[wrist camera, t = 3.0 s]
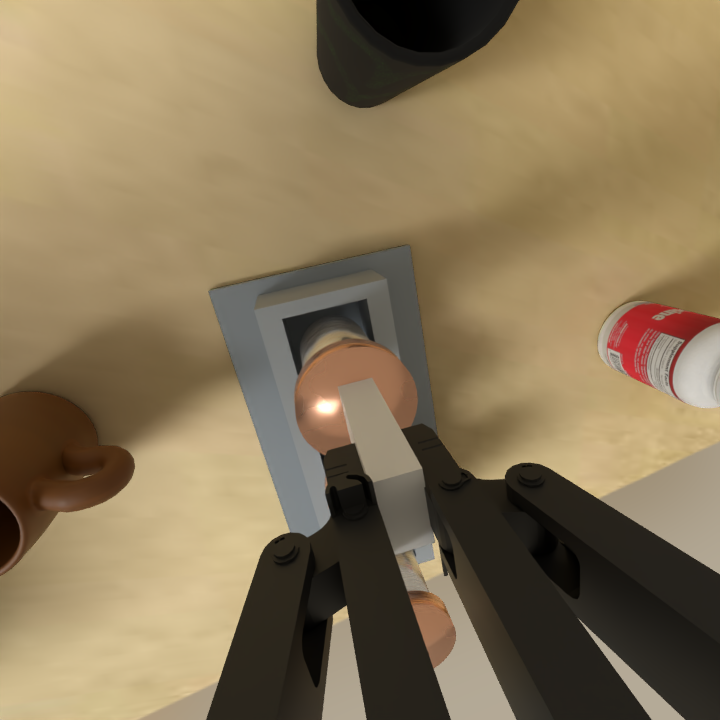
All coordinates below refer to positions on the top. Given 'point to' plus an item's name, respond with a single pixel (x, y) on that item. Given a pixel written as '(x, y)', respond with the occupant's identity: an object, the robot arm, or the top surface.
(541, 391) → the top surface
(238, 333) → the mount
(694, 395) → the pill bottle
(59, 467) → the mug
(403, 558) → the knob
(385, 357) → the knob
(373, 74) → the cup
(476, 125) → the top surface
